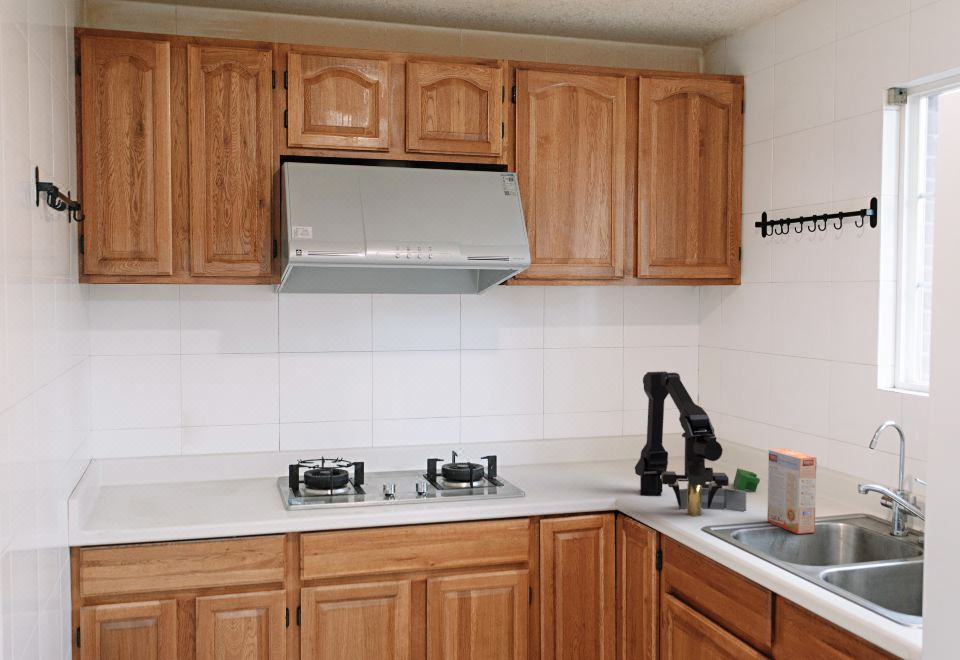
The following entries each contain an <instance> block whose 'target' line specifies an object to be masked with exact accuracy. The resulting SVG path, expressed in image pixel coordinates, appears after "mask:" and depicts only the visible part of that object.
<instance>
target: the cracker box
mask: <svg viewBox="0 0 960 660" xmlns="http://www.w3.org/2000/svg"><path fill="white" fill-rule="evenodd" d="M767 470H768V473H767V475H768V478H767V481H768V482H767V519H766V520H767V522H768V523H769V522H770V524H772V525H775V526H777V527H780V528H782V529H784V530H787V531H789V532H792V533H794V534H796V535H801V534H814V533H815V532H816V499H817V497H816V495H817V493H816V492H817V457H816V456H813V455H810V454H805V453H801V452H799V451H798V452H797V451H795V450H790V449H787V448H777V449H776V448H775V449H774V448H773V449H768V469H767Z"/></svg>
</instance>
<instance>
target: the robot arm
mask: <svg viewBox="0 0 960 660" xmlns="http://www.w3.org/2000/svg"><path fill="white" fill-rule="evenodd" d="M680 375H681V374H680V373H679V372H668V371H665V370H664V371H647V372H646V373H645V374H644V375H643V377H642V383H643V391H644V393H645V395H646V397H647V398H648V405H647V408H648V409H647V427H646V443H645V445H644V446H643V448H642V449H641V451H640V457H639V459H638V461H637V463H636V465H635V466H634V472H635V475H637V476H639V477H640V479H639V481H640V482H639V483H640V484H639V488H640V489H639V493H640V496H653V495H656V496H658V495H660V496H659V497H661V496H662V493H663V485H668V487H669V488H672V490H673V492H674V494H675V498H676V502H677V504H678V509H679V508H681V500H680V491H679V489H680V484H679V482H688V483H689V484H690V485H705V484H707V483H708V484H709V492H708V502H707V504H708V508H710V505H711V503H712V500H713V497H714V495H715V493H716V491H717V490H718V489H721V488H722V487H729V486H730V480H729V479H730V478H729V477H728V475H727V474H726V472H714V468H713V467H706V465H705V464H706V460H707V461H710V462H716V461H718V460H719V459H720V458H721V457H722V455H723V448H722V445H721V443H720V442H719V441H717V436H716V434H715V429H714V426H713V424H712V421H711V419H710V417H709V415H708V414H707V412H706V411H705V410H704V408H703V407H701V406H700V405H697V404H695V402H694V400H693V399H692V396H691V395H690V394H689V391H687V389H686V387H685V385H684V384H683V382H682V380H681V376H680ZM668 395H669V396H670V398H671V399H672V401H673V403H674V405H675V407H676V408H677V409H678V412H679V417H678V418H679V419H678V421H679V423H680V426H681V428H682V429H683V433H682V434H681V437H682V438H684V474H677V472H676V471H672V470H671V471H667V469H668V466H669V459H668V458H669V452H668V451H667V450H666V449H665V448H664V445H663V438H664V437H663V436H664V414H665V400H666V398H667V397H668ZM688 483H687V484H688ZM656 496H655V497H656Z"/></svg>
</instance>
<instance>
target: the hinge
mask: <svg viewBox="0 0 960 660" xmlns="http://www.w3.org/2000/svg"><path fill="white" fill-rule="evenodd" d="M679 491H680V500H681V508H679V507H678V510H680V509H683V510H687V488H679ZM747 491H748V490H745V491H742V490H736V488H734V489H733V488H727V487H724V486H722V488H721V489H718V490H717V491H716V493H715V495H714V497H713V500H712V503H711V505H710V508H708V504H707V502H708V492H709V483H706V484H705V485H701V508H703V509H705V510H706V509H707V510H708V509H709V510H731V509H732V511H737V510H738V512H739V511H740V512H744V511H746V512H747V502H748V501H747V497H748V496H747V494H748V493H747ZM724 508H726V509H724ZM703 509H702V510H703Z"/></svg>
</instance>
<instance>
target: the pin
mask: <svg viewBox="0 0 960 660" xmlns="http://www.w3.org/2000/svg"><path fill="white" fill-rule="evenodd" d="M686 484H687V485H686V489H687V509H686V515H688V516H689V515H690V517H701V516H702V509H701V485H690V484H689V483H686Z"/></svg>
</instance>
